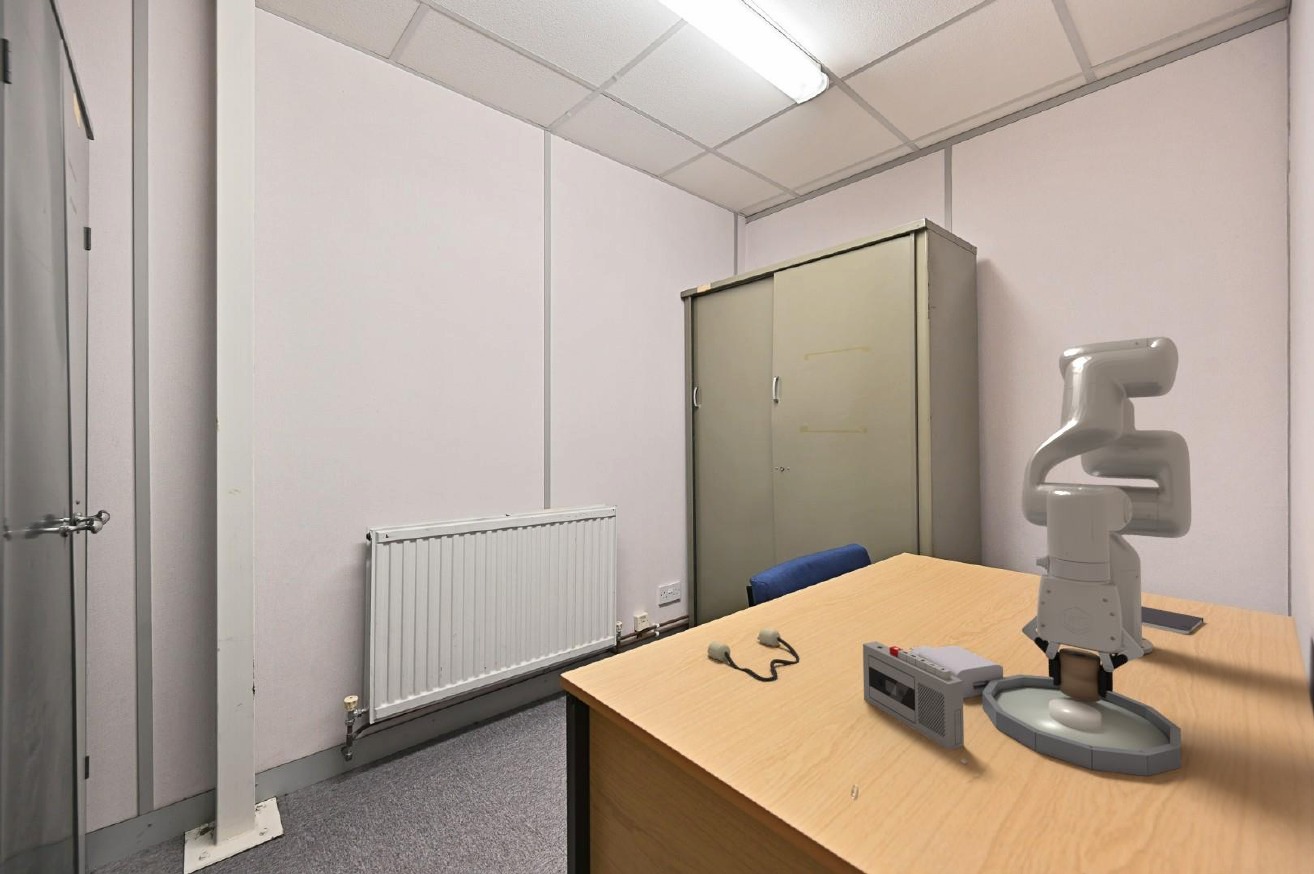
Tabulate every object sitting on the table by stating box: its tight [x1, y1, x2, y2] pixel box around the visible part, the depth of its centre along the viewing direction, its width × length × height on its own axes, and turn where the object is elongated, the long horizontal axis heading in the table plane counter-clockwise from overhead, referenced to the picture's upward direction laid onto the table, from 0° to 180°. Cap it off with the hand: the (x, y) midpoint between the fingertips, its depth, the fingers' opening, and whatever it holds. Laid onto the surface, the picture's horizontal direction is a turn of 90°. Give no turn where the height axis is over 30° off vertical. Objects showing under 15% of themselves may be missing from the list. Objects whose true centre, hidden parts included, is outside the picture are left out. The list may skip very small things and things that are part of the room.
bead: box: [1058, 647, 1102, 702], centre depth 82 cm, size 5×5×6 cm
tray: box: [981, 673, 1182, 777], centre depth 78 cm, size 22×22×2 cm
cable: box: [706, 627, 800, 683], centre depth 103 cm, size 16×16×4 cm
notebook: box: [1141, 605, 1204, 635], centre depth 123 cm, size 13×2×21 cm
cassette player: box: [862, 641, 965, 751], centre depth 80 cm, size 16×3×10 cm, turn 23°
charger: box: [909, 644, 1004, 699], centre depth 95 cm, size 5×9×15 cm
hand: (1080, 687), depth 82 cm, fingers closed on bead, 4 cm apart
